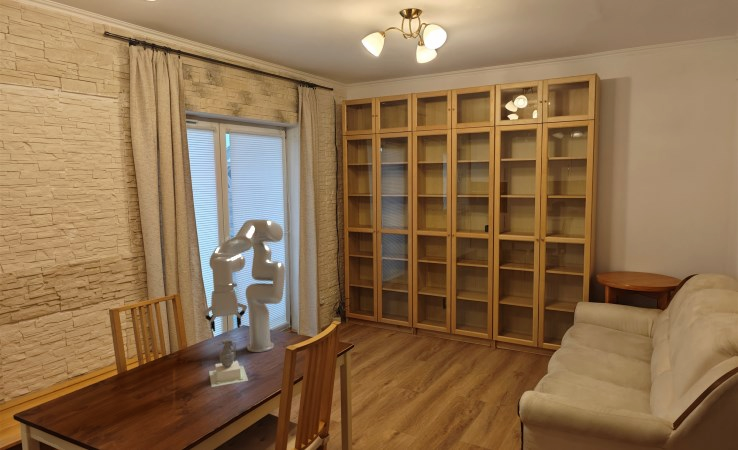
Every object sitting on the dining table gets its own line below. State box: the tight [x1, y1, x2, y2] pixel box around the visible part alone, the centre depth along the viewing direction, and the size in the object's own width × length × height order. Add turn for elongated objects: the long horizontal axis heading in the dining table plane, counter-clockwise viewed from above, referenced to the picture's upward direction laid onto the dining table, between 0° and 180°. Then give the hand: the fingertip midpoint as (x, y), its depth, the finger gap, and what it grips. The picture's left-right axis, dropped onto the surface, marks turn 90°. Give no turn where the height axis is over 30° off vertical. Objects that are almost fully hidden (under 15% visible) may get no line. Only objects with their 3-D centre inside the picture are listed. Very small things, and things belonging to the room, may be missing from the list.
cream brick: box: [214, 360, 241, 382], centre depth 195 cm, size 9×9×4 cm
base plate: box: [208, 365, 249, 388], centre depth 195 cm, size 16×14×2 cm
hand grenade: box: [218, 338, 237, 367], centre depth 194 cm, size 6×6×11 cm
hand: (226, 328), depth 194 cm, fingers open, 9 cm apart
